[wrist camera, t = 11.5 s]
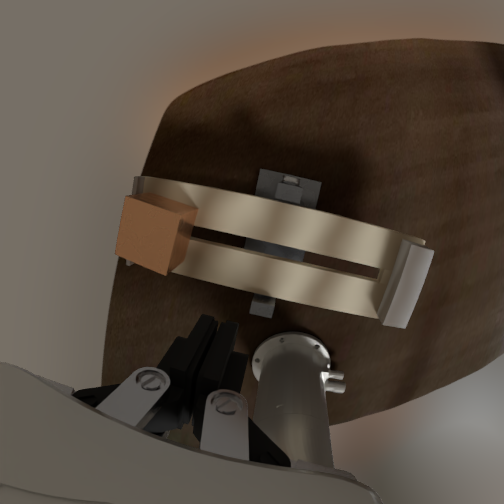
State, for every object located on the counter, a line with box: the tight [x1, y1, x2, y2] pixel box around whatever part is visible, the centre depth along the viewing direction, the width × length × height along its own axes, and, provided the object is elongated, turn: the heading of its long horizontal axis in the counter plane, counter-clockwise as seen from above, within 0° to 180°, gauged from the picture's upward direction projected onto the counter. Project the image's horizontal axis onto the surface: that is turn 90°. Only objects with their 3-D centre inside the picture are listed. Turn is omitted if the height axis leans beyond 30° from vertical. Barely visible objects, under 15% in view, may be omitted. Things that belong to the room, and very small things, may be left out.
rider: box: [115, 192, 198, 276], centre depth 27 cm, size 6×6×6 cm
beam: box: [126, 176, 434, 328], centre depth 28 cm, size 32×10×4 cm, turn 79°
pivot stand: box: [244, 169, 322, 318], centre depth 32 cm, size 8×16×10 cm, turn 169°
